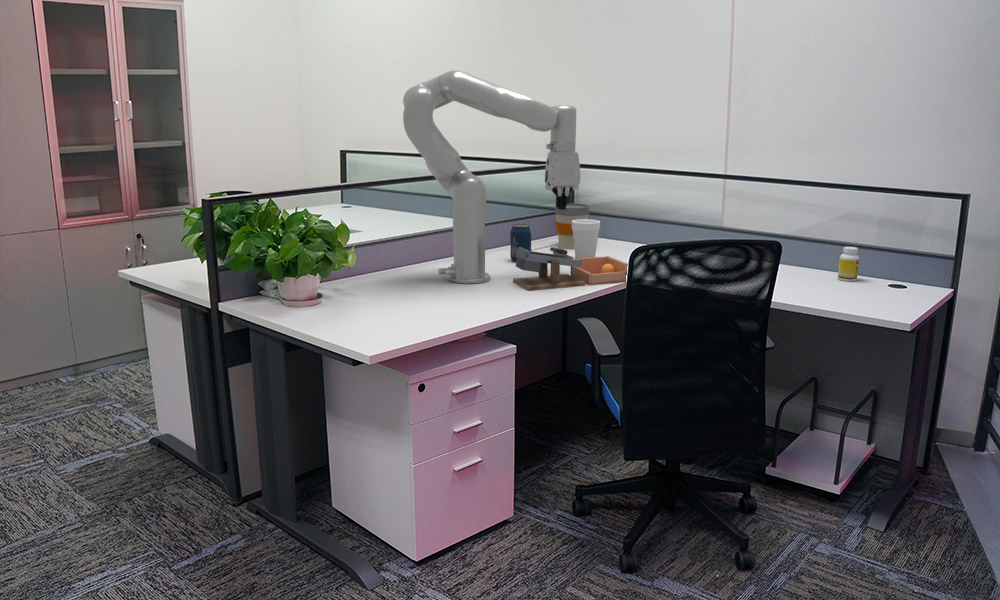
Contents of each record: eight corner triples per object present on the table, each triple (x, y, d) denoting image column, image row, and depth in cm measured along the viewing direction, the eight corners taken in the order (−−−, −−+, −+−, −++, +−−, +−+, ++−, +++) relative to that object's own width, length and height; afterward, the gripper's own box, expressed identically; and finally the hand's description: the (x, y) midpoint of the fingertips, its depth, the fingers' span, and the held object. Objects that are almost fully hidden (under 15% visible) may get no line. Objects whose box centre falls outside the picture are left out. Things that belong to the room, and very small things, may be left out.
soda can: (532, 259, 280) (532, 224, 277) (529, 263, 274) (530, 227, 271) (511, 258, 281) (511, 223, 278) (509, 262, 275) (509, 226, 272)
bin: (588, 285, 243) (588, 266, 242) (570, 276, 254) (570, 259, 253) (627, 281, 248) (627, 263, 246) (608, 273, 259) (608, 256, 257)
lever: (523, 270, 237) (527, 250, 236) (504, 260, 251) (507, 241, 250) (580, 277, 245) (584, 257, 244) (558, 267, 259) (562, 248, 257)
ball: (602, 271, 248) (612, 262, 249) (596, 268, 252) (605, 259, 253) (609, 280, 250) (619, 271, 251) (603, 278, 254) (612, 269, 254)
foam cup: (600, 262, 275) (601, 223, 272) (572, 262, 275) (573, 223, 272) (597, 256, 284) (598, 219, 281) (570, 256, 284) (571, 219, 281)
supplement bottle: (857, 282, 246) (861, 249, 244) (838, 281, 248) (841, 248, 246) (856, 278, 251) (859, 246, 249) (837, 277, 253) (840, 245, 250)
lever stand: (528, 290, 237) (528, 265, 235) (513, 281, 247) (513, 257, 246) (585, 285, 243) (585, 260, 241) (567, 277, 254) (568, 253, 252)
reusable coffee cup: (579, 251, 294) (580, 209, 290) (548, 247, 300) (548, 206, 297) (594, 245, 304) (595, 204, 301) (563, 242, 311) (564, 202, 307)
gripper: (545, 149, 242) (543, 211, 246) (590, 148, 247) (588, 209, 251) (534, 147, 248) (533, 208, 253) (579, 146, 254) (577, 206, 258)
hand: (561, 208), depth 252 cm, fingers closed
